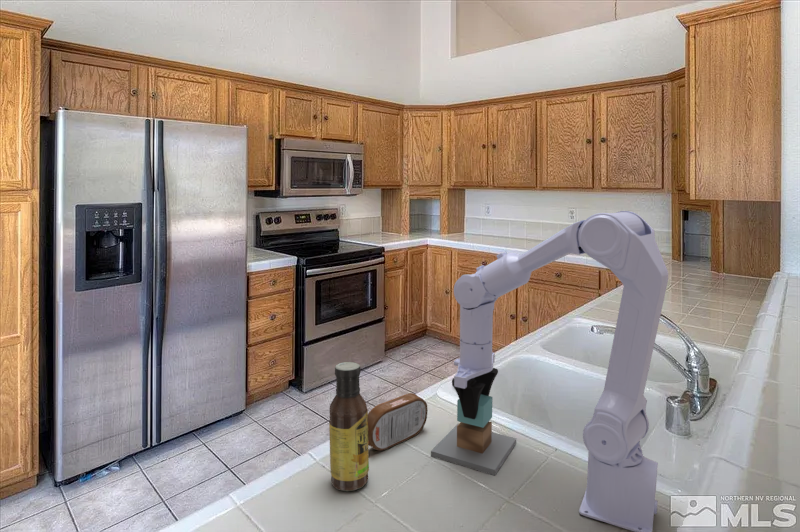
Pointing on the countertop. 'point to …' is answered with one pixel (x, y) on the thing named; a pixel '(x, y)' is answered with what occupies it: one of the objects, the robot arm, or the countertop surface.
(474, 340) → the robot arm
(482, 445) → the walnut brick
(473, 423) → the teal brick
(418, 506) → the countertop surface
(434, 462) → the countertop surface
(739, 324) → the countertop surface
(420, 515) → the countertop surface
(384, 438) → the tin
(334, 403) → the sauce bottle
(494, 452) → the baseplate
